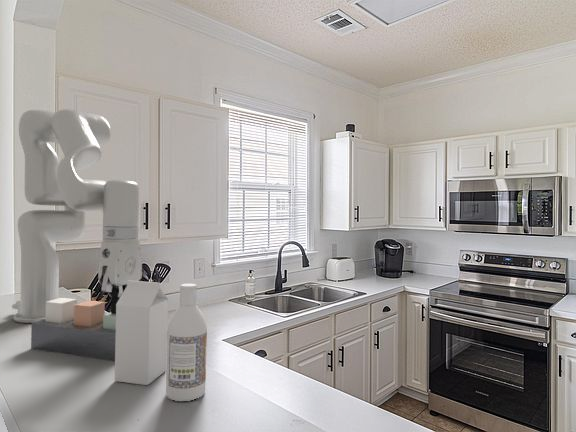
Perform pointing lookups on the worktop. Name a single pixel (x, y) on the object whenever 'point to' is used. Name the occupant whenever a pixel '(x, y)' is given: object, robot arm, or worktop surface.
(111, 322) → the pale green block
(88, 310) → the peach key
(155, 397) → the worktop surface
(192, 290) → the bath foam
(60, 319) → the ivory key
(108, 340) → the grey socket block
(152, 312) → the milk carton
